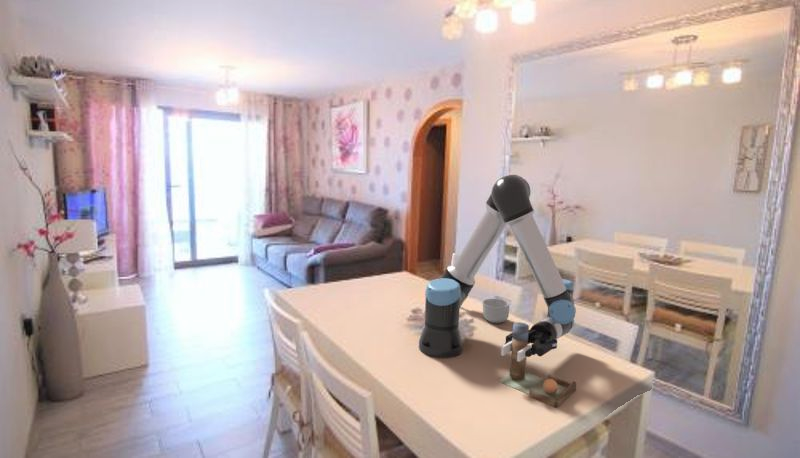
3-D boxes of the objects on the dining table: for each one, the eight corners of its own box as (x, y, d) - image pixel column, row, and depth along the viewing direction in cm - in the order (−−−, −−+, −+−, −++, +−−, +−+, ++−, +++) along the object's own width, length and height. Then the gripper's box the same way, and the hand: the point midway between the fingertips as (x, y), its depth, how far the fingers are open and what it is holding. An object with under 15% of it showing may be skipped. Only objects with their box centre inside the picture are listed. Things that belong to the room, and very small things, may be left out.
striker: (510, 379, 123) (514, 327, 120) (508, 371, 127) (512, 321, 125) (526, 380, 122) (530, 328, 120) (523, 373, 127) (527, 323, 124)
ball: (550, 387, 114) (542, 395, 116) (562, 390, 115) (554, 398, 117) (546, 374, 117) (538, 382, 119) (558, 377, 118) (550, 385, 120)
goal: (497, 382, 122) (497, 374, 122) (518, 368, 132) (518, 360, 131) (557, 408, 110) (558, 399, 110) (575, 390, 119) (576, 382, 119)
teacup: (509, 326, 166) (510, 307, 165) (481, 324, 168) (482, 305, 167) (507, 314, 179) (508, 297, 178) (481, 312, 181) (482, 294, 180)
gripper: (571, 351, 131) (538, 377, 114) (520, 335, 143) (483, 356, 126) (573, 328, 130) (540, 351, 113) (522, 314, 142) (484, 332, 125)
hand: (510, 353), depth 120 cm, fingers closed on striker, 4 cm apart
